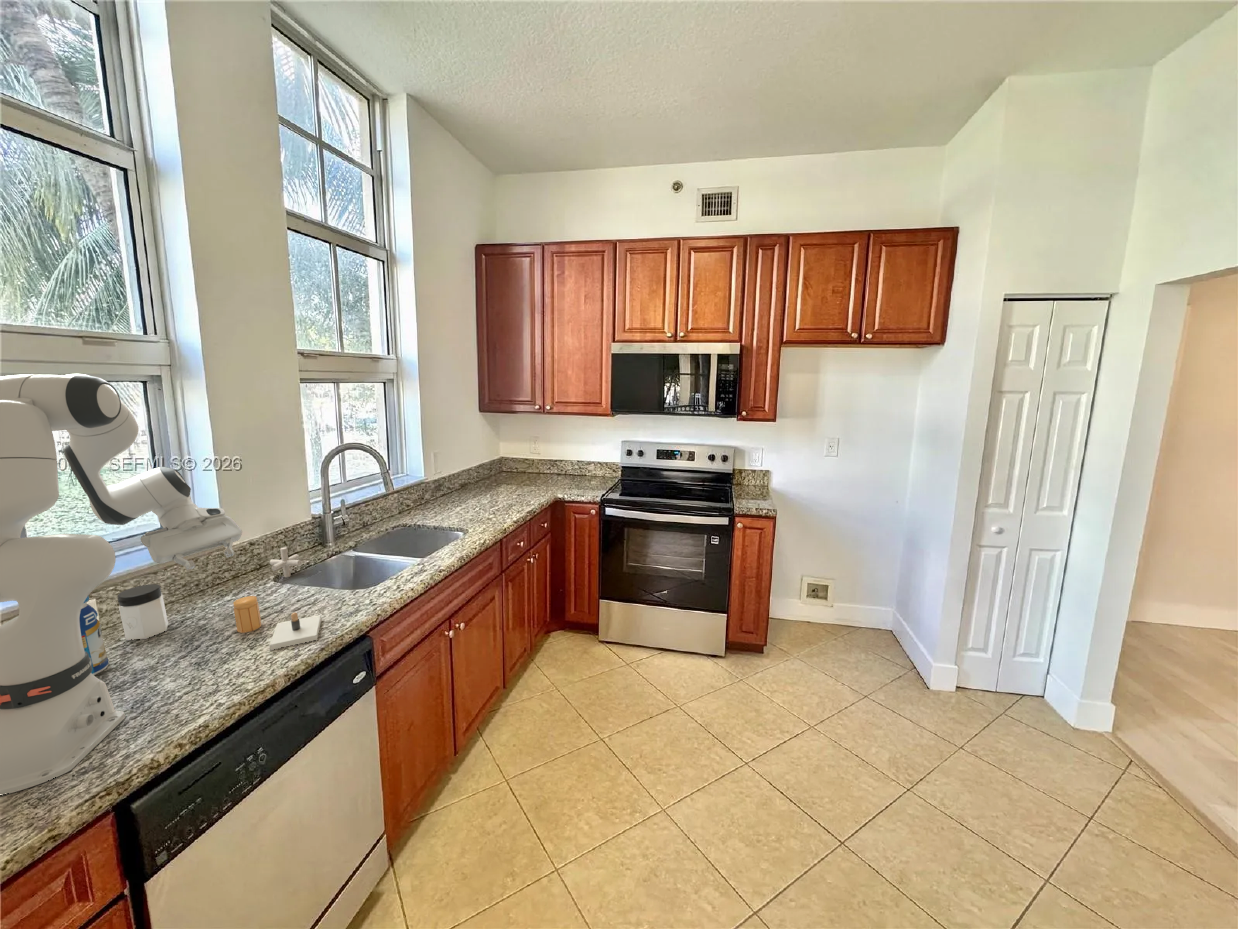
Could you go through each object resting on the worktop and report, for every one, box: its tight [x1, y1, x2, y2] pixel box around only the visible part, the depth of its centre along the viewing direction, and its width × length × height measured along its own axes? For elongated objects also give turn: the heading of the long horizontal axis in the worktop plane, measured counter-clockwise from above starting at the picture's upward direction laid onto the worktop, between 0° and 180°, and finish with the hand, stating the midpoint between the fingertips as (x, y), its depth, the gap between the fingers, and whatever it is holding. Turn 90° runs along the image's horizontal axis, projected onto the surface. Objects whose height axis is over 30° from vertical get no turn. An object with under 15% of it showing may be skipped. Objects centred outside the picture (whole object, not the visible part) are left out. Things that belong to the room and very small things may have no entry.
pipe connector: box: [269, 546, 302, 578], centre depth 165 cm, size 10×10×10 cm
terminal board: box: [268, 612, 322, 651], centre depth 128 cm, size 12×10×6 cm
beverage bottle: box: [79, 594, 110, 676], centre depth 111 cm, size 8×8×20 cm
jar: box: [116, 583, 169, 641], centre depth 129 cm, size 9×8×12 cm
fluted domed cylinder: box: [233, 595, 263, 634], centre depth 131 cm, size 5×5×8 cm
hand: (212, 561), depth 134 cm, fingers open, 8 cm apart
